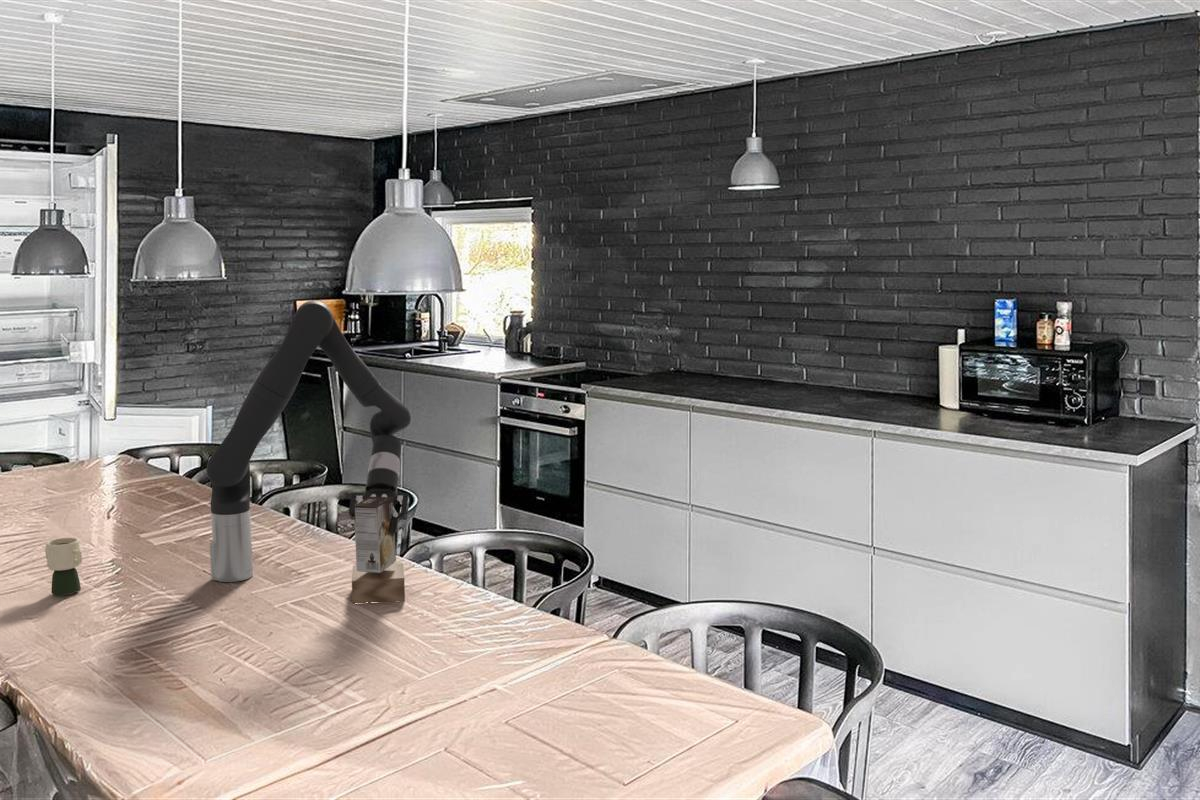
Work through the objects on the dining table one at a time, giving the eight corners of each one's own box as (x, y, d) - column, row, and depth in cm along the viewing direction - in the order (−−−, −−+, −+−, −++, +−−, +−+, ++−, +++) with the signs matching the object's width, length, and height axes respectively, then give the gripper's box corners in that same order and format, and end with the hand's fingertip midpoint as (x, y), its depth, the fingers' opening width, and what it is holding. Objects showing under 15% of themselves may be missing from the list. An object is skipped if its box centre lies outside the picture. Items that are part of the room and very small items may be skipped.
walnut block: (352, 606, 242) (351, 581, 242) (353, 589, 254) (352, 565, 253) (404, 602, 245) (404, 577, 244) (403, 586, 257) (403, 562, 256)
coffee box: (372, 560, 253) (369, 495, 250) (396, 561, 251) (394, 496, 249) (355, 571, 244) (352, 504, 241) (381, 573, 242) (378, 506, 240)
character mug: (95, 591, 251) (92, 539, 249) (71, 600, 245) (67, 547, 243) (61, 586, 255) (57, 535, 253) (36, 595, 248) (32, 542, 247)
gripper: (351, 466, 252) (342, 526, 243) (410, 466, 253) (403, 526, 243) (356, 483, 258) (347, 541, 249) (414, 483, 259) (408, 541, 249)
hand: (375, 533), depth 246 cm, fingers closed on coffee box, 7 cm apart
